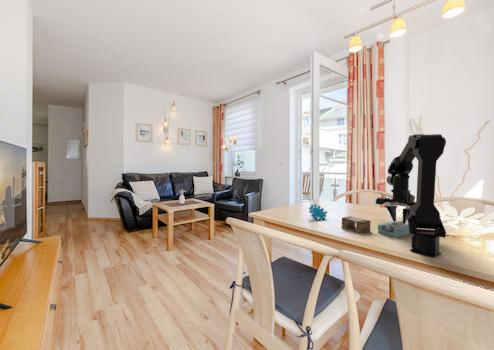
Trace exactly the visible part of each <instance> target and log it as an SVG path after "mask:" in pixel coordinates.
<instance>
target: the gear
mask: <svg viewBox="0 0 494 350" xmlns="http://www.w3.org/2000/svg"><path fill="white" fill-rule="evenodd" d="M317 205H318V204H311V205H310V207H308V210H309V214H311V217H312V218H314V219H315V220H319V221H323V220H325V219H326V217H327V214H328V211H327V210H326V211H325V209H324V207H322V206H321V205H318V206H317ZM321 207H322V208H321Z"/></svg>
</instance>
